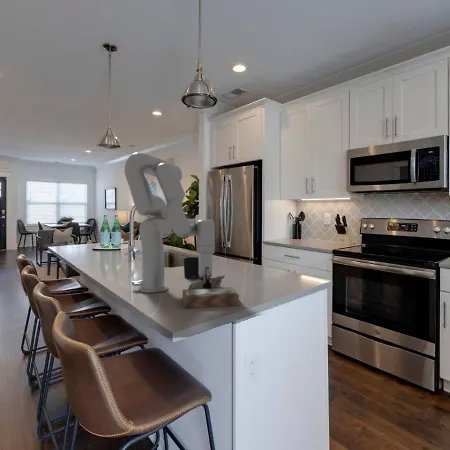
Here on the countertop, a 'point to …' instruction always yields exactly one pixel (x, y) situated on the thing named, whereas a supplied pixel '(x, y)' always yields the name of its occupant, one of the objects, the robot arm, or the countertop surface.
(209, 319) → the countertop surface
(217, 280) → the decorative bird
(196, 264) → the pen holder
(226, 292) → the walnut plinth
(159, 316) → the countertop surface
